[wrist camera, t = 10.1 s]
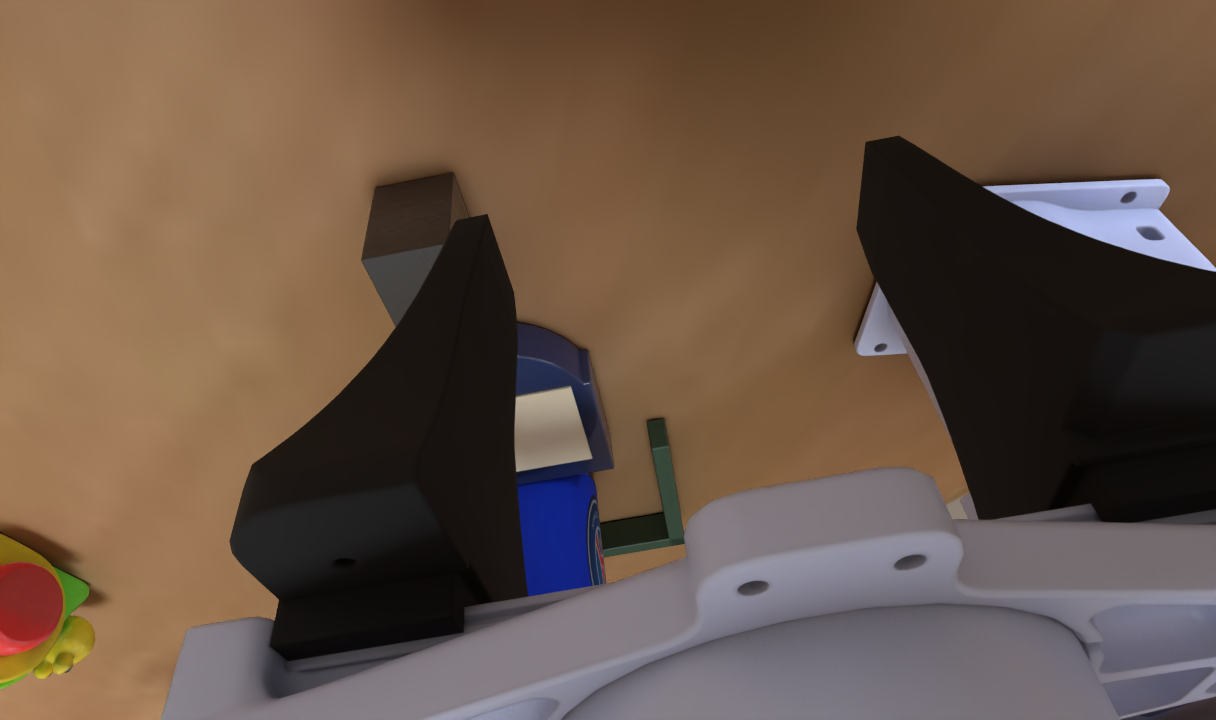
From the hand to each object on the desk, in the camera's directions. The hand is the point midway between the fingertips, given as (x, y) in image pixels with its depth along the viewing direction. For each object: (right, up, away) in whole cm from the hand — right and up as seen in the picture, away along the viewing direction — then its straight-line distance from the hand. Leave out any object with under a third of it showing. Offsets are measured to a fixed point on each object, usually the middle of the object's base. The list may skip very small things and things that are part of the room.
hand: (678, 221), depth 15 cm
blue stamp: (-6, -2, +15) cm, 16 cm away
